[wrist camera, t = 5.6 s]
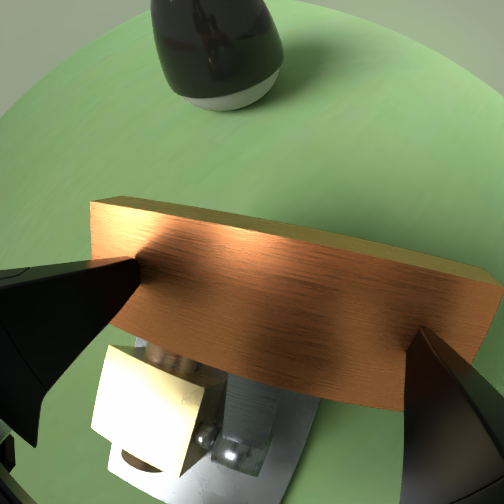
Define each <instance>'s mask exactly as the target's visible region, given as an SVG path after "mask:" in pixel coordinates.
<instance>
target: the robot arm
mask: <svg viewBox="0 0 504 504" xmlns="http://www.w3.org/2000/svg"><path fill="white" fill-rule="evenodd" d="M140 283H141V275H140V270H139V264H138V261H137V259H136V258H133V257H130V256H120V257H112V258H103V259H94V260H86V261H77V262H69V263H61V264H52V265H44V266H36V267H31V268H30V267H25V268H17V269H8V270H0V504H37V503H36V502H35V501H34V500H33V499H32V498H31V497H30V496H29V495H28V494H27V493H26V492H25V491H24V490H23V488H22V487H21V486H20V485H19V484H18V483H17V482H16V481H15V479H14V478H13V477H12V476H11V475H10V474H9V473H10V472H11V470H12V469H13V468H14V466H15V465H16V464H15V448H14V437H13V436H12V435H11V434H10V432H11V431H12V430H13V431H14V432H16V433H17V434H18V435H19V436H20V437H22V438H23V439H24V440H25V441H26V442H28V443H29V444H30V445H31V446H33V447H34V448H36V446H37V439H38V428H39V419H40V411H41V405H42V401H43V399H44V397H45V395H46V394H47V391H49V390H50V389H51V388H52V386H53V385H54V384H55V383H56V382H57V380H58V379H59V378H60V377H61V376H62V375H63V374H64V372H65V371H66V370H67V369H68V368H69V367H70V365H71V364H72V363H73V362H74V361H75V360H76V359H77V358H78V356H79V355H80V354H81V353H82V352H83V351H84V350H85V349H86V348H87V346H88V345H89V344H90V343H91V342H92V341H93V340H94V339H95V338H96V337H97V335H98V334H99V333H100V332H101V331H102V330H103V329H104V328H105V327H106V326H107V325H108V324H109V323H110V322H111V320H112V319H113V318H114V317H115V316H116V315H117V314H118V313H119V311H120V310H121V309H122V308H123V306H124V305H125V304H126V303H127V301H128V300H129V299H130V297H131V296H132V295H133V294H134V292H135V291H136V290H137V289H138V287H139V286H140ZM399 504H504V397H503V396H502V395H501V394H500V393H499V392H498V391H497V390H496V389H495V388H494V387H493V386H492V385H491V384H490V383H489V382H488V381H487V380H486V379H485V378H484V377H483V376H482V375H481V374H479V373H478V372H477V371H476V370H475V369H474V368H473V367H472V366H471V365H470V364H469V363H468V362H467V361H466V360H465V359H464V358H463V357H461V356H460V355H459V354H458V353H457V352H456V351H455V350H454V349H453V348H452V347H451V346H449V345H448V344H447V343H446V342H445V341H444V340H443V339H442V338H440V337H439V336H438V335H437V334H436V333H435V332H434V331H432V330H430V329H425V328H420V329H419V330H418V331H417V333H416V335H415V336H414V338H413V340H412V342H411V343H410V345H409V347H408V349H407V353H406V366H405V384H404V455H403V472H402V484H401V494H400V502H399Z"/></svg>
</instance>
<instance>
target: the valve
mask: <svg viewBox="0 0 504 504" xmlns="http://www.w3.org/2000/svg"><path fill="white" fill-rule="evenodd" d="M228 373H229V372H226V371H223V370H220V369H217V368H214V367H211V366H208V365H206V364H203V363H200V362H197V361H195V360H192V359H189V358H187V357H184V356H182V355H179V354H177V353H174V352H172V351H169V350H167V349H164V348H162V347H160V346H157V345H155V344H153V343H150V342H148V341H146V340H143V339H141V338H139V337H137V339H136V343H135V346H134V347H130V346H118V345H109V347H108V351H107V354H106V358H105V363H104V367H103V371H102V375H101V380H100V384H99V389H98V394H97V399H96V404H95V409H94V415H93V420H92V427H91V428H93V429H94V430H95V431H97V432H98V433H100V434H101V435H103V436H104V437H106V438H107V439H109V440H110V441H112V447H111V452H110V458H109V465H108V470H110V471H111V472H113V473H114V474H116V475H117V476H119V477H121V478H122V479H124V480H125V481H127V482H129V483H130V484H132V485H134V486H135V487H137V488H139V489H141V490H143V491H144V492H146V493H148V494H150V495H152V496H154V497H156V498H158V499H159V500H161V501H163V502H166V503H168V504H280V501H281V499H282V497H283V495H284V493H285V491H286V488H287V486H288V484H289V482H290V479H291V477H292V475H293V472H294V470H295V468H296V465H297V463H298V460H299V458H300V455H301V453H302V450H303V448H304V445H305V442H306V440H307V437H308V434H309V432H310V429H311V426H312V423H313V420H314V417H315V415H316V412H317V409H318V406H319V403H320V400H321V398H319V397H315V396H311V395H306V394H302V393H298V392H294V391H290V390H286V389H283V391H282V394H281V398H280V401H279V405H278V408H277V412H276V415H275V418H274V422H273V425H272V428H271V431H270V432H272V433H275V434H274V437H273V440H272V443H271V445H270V448H269V451H268V453H267V456H266V459H265V461H264V464H263V466H262V469H261V471H260V473H259V476H258V477H254V476H251V475H247V474H244V473H241V472H238V471H235V470H232V469H229V468H226V467H223V466H221V465H218V464H215V463H213V462H211V453H212V450H213V447H214V444H215V441H216V439H217V437H218V434H219V432H220V430H221V429H222V427H223V421H224V412H225V402H226V392H227V383H228Z"/></svg>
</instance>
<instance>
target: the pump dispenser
mask: <svg viewBox="0 0 504 504" xmlns="http://www.w3.org/2000/svg"><path fill="white" fill-rule="evenodd" d="M151 18H152V27H153V34H154V40H155V45H156V49H157V53H158V57H159V60H160V64H161V67H162V70H163V73H164V76H165V78H166V80H167V82H168V84H169V86H170V88H171V89H172V90H173V91H174V92H175V93H177V94H178V95H180V96H182V97H183V98H184V99H185V100H186V101H188V102H189V103H191V104H193V105H195V106H197V107H199V108H202V109H206V110H211V111H229V110H234V109H238V108H242V107H245V106H247V105H249V104H251V103H253V102H255V101H257V100H258V99H260V98H261V97H262V96H264V95H265V94H266V93H267V92H268V91H269V90H270V88H271V87H272V86H273V84H274V83H275V81H276V79H277V76H278V73H279V69H280V66H281V64H282V62H283V58H284V53H283V47H282V42H281V39H280V36H279V33H278V31H277V28H276V25H275V23H274V21H273V18H272V16H271V14H270V12H269V10H268V8H267V6H266V4H265V2H264V1H263V0H151Z"/></svg>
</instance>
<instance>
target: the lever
mask: <svg viewBox="0 0 504 504" xmlns="http://www.w3.org/2000/svg"><path fill="white" fill-rule="evenodd" d="M91 246H92V260H94V259H103V258H112V257H120V256H130V257H133V258H136V259H137V261H138V264H139V270H140V275H141V283H140V286H139V287H138V289H137V290H136V291H135V292H134V294H133V295H132V296H131V297H130V299H129V300H128V301H127V303H126V304H125V305H124V306H123V308H122V309H121V310H120V311H119V313H118V314H117V315H116V316H115V317H114V318H113V319H112V320H111V322H110V323H109V324H111V325H113V326H115V327H118V328H120V329H122V330H124V331H126V332H128V333H130V334H132V335H135V336H137V337H139V338H141V339H143V340H146V341H148V342H150V343H153V344H155V345H157V346H160V347H162V348H164V349H167V350H169V351H172V352H174V353H177V354H179V355H182V356H184V357H187V358H189V359H192V360H195V361H197V362H200V363H203V364H206V365H208V366H211V367H214V368H217V369H220V370H223V371H226V372H229V373H228V383H227V392H226V402H225V412H224V421H223V427H222V429H221V430H220V432H219V434H218V437H217V439H216V441H215V444H214V447H213V450H212V453H211V462H213V463H215V464H218V465H221V466H223V467H226V468H229V469H232V470H235V471H238V472H241V473H244V474H247V475H251V476H254V477H258V476H259V473H260V471H261V469H262V466H263V464H264V461H265V459H266V456H267V453H268V451H269V448H270V445H271V443H272V440H273V437H274V434H275V433H272V432H270V431H271V428H272V425H273V422H274V418H275V415H276V412H277V408H278V405H279V401H280V398H281V394H282V391H283V389H286V390H290V391H294V392H298V393H302V394H306V395H311V396H315V397H319V398H324V399H329V400H334V401H339V402H344V403H349V404H355V405H361V406H367V407H373V408H380V409H387V410H395V411H404V384H405V366H406V353H407V349H408V347H409V345H410V343H411V342H412V340H413V338H414V336H415V335H416V333H417V331H418V330H419V329H420V328H425V329H430V330H432V331H434V332H435V333H436V334H437V335H438V336H439V337H440V338H442V339H443V340H444V341H445V342H446V343H447V344H448V345H449V346H451V347H452V348H453V349H454V350H455V351H456V352H457V353H458V354H459V355H460V356H461V357H463V358H464V359H465V360H466V361H467V362H468V363H469V364H470V365H471V363H472V361H473V360H474V358H475V356H476V354H477V352H478V350H479V348H480V346H481V344H482V342H483V340H484V338H485V336H486V334H487V332H488V329H489V327H490V325H491V323H492V321H493V318H494V316H495V313H496V311H497V309H498V306H499V304H500V301H501V298H502V296H503V293H504V286H502V285H501V284H500V283H499V282H498V281H497V280H495V279H494V278H493V277H492V276H491V275H490V274H488V273H487V272H486V271H485V270H484V269H482V268H478V267H475V266H471V265H467V264H463V263H460V262H456V261H452V260H448V259H444V258H440V257H436V256H432V255H428V254H424V253H420V252H416V251H412V250H407V249H403V248H399V247H395V246H390V245H386V244H382V243H377V242H373V241H368V240H364V239H359V238H355V237H350V236H346V235H341V234H336V233H332V232H327V231H322V230H317V229H312V228H307V227H302V226H297V225H292V224H287V223H282V222H277V221H272V220H266V219H261V218H256V217H250V216H245V215H239V214H234V213H228V212H222V211H216V210H211V209H205V208H199V207H193V206H186V205H180V204H174V203H168V202H161V201H154V200H148V199H141V198H134V197H127V196H118V197H112V198H106V199H100V200H95V201H91Z"/></svg>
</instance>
